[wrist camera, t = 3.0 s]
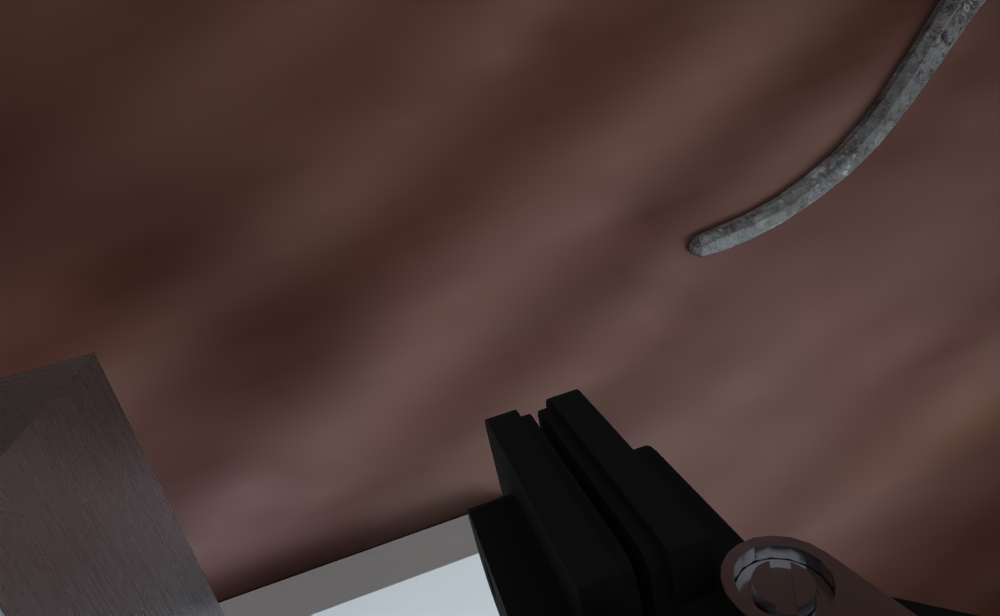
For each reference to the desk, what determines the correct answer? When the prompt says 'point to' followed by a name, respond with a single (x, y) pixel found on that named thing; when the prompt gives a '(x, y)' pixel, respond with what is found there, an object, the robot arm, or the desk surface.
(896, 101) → the pliers
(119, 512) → the dial
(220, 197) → the desk surface
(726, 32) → the desk surface
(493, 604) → the dial plate
